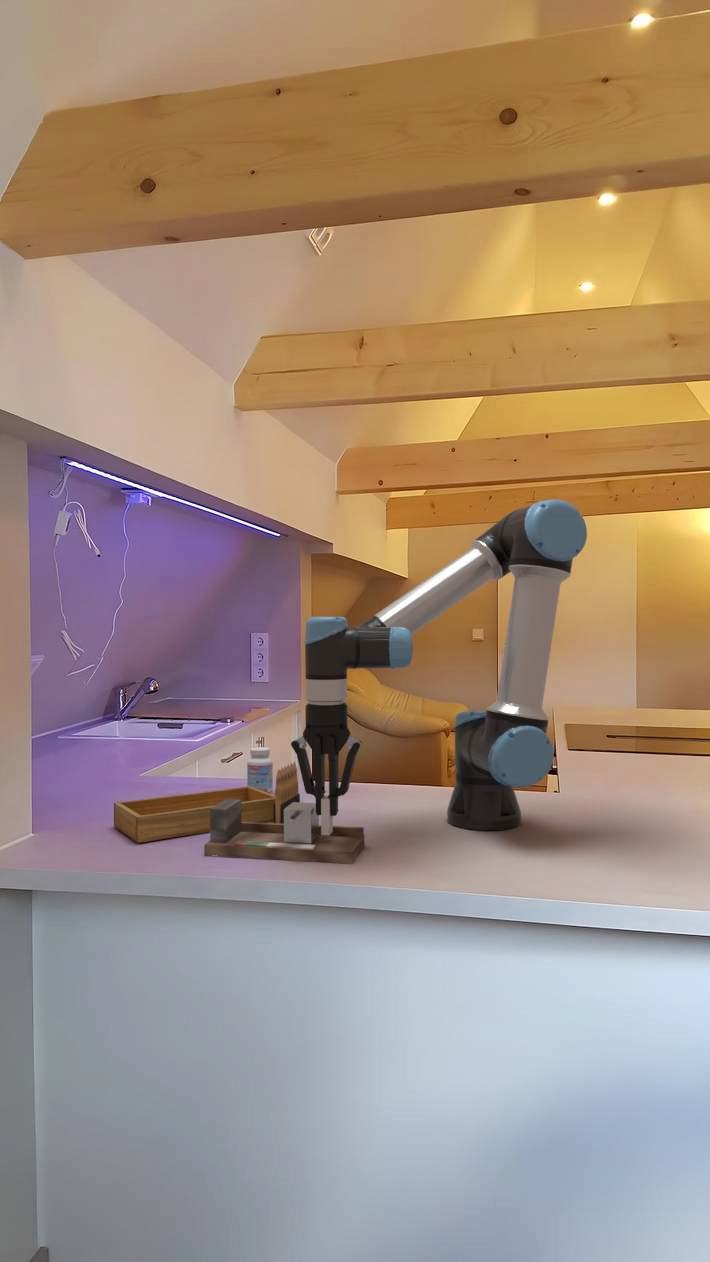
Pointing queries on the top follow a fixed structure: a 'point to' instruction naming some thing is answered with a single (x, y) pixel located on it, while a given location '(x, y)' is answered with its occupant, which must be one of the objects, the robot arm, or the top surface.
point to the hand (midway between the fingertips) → (327, 833)
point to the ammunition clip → (285, 791)
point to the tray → (187, 812)
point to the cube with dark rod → (301, 823)
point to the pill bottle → (260, 769)
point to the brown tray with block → (276, 839)
